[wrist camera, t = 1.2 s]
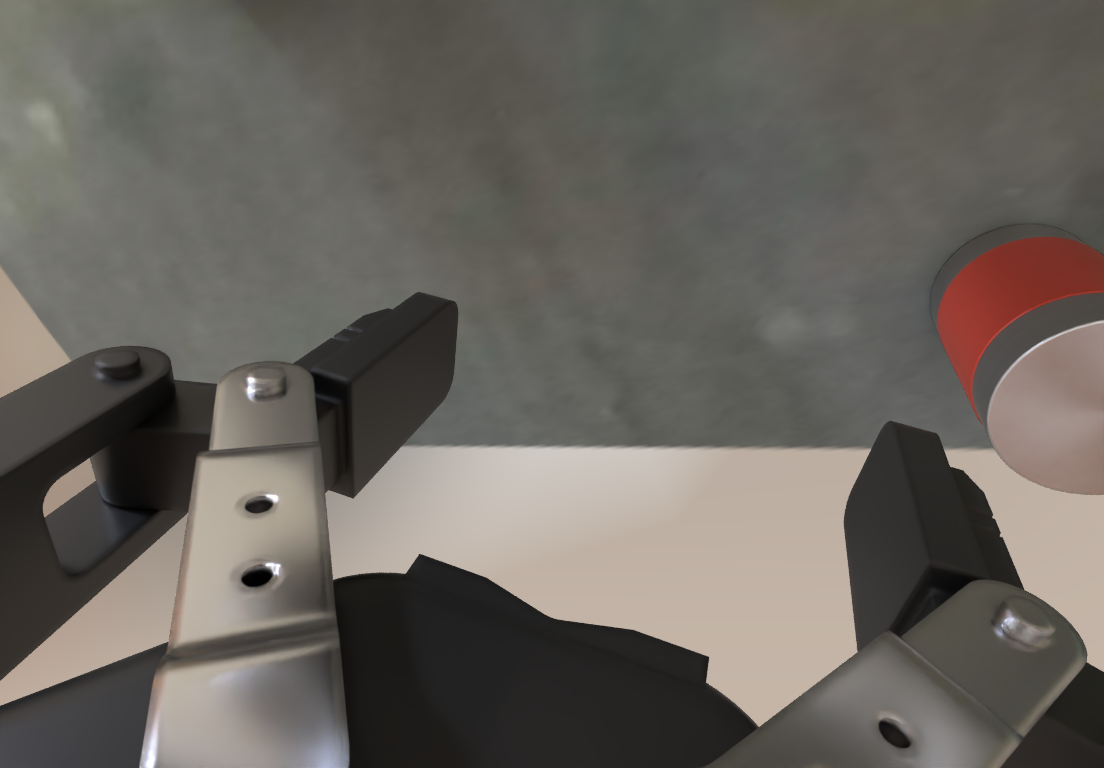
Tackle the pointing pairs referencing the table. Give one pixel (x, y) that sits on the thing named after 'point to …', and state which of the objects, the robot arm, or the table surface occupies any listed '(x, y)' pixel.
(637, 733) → the robot arm
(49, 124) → the table surface
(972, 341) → the can
